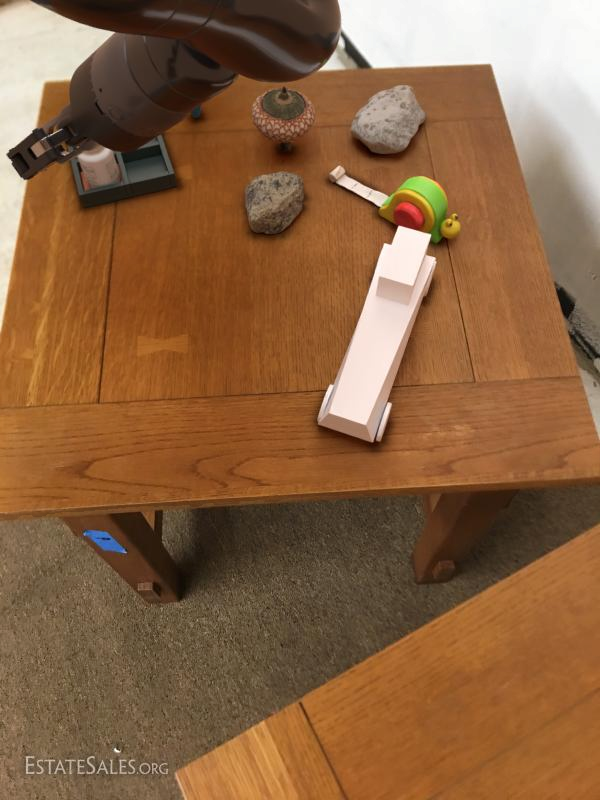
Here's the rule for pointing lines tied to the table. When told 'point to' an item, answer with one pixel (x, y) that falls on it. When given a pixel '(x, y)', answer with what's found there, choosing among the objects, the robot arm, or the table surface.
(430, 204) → the toy measuring tape
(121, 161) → the compartment tray
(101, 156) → the pill bottle
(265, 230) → the rock
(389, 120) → the decorative stone
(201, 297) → the table surface
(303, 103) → the acorn
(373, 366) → the toy truck
